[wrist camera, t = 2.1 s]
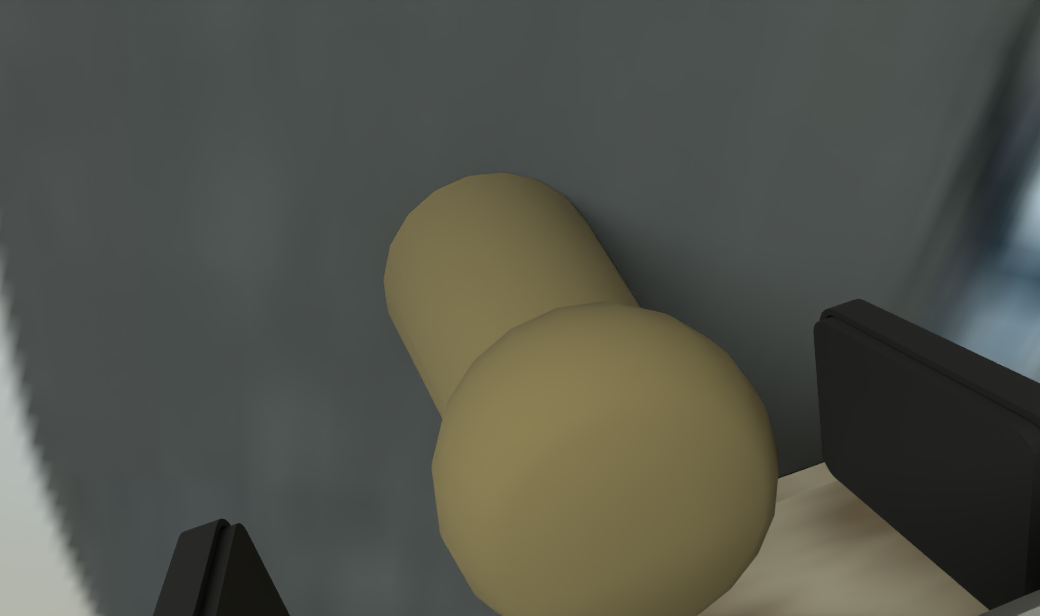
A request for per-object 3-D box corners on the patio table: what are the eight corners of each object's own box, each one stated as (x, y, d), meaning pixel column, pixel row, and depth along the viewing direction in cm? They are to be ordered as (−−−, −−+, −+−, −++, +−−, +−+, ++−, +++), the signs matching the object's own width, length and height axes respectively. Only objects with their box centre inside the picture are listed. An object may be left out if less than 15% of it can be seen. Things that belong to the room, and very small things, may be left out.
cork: (547, 403, 21) (723, 739, 11) (352, 346, 19) (343, 692, 9) (634, 219, 19) (932, 409, 9) (431, 136, 17) (530, 262, 7)
